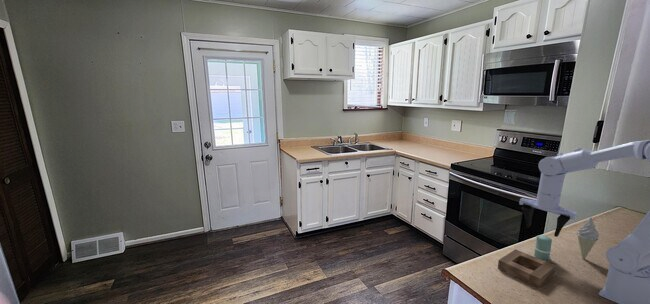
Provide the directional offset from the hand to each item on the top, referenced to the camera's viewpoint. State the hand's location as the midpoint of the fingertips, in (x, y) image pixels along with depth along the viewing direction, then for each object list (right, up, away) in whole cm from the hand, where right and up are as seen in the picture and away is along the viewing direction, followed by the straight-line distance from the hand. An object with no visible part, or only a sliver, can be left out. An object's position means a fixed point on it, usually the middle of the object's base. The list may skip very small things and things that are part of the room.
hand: (541, 230), depth 90 cm
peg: (+1, -9, +1) cm, 9 cm away
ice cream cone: (+13, -9, 0) cm, 16 cm away
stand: (-10, -11, -6) cm, 16 cm away
